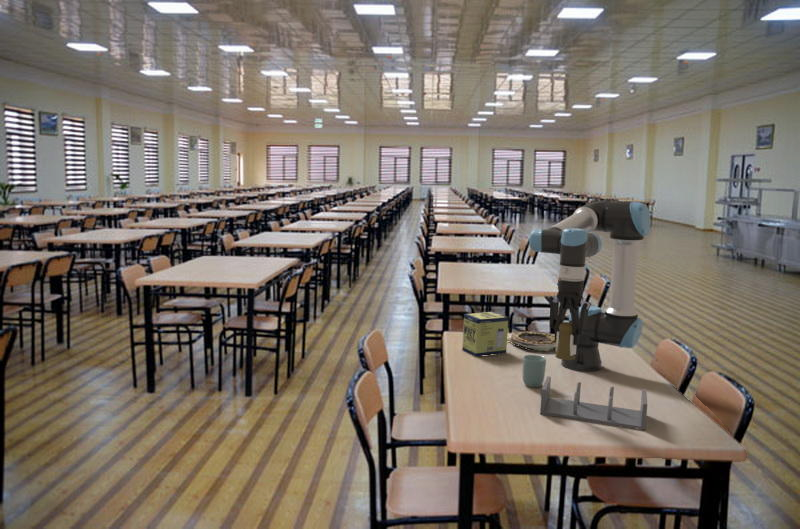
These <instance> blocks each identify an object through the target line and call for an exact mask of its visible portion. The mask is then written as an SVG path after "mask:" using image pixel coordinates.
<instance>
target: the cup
mask: <svg viewBox="0 0 800 529" xmlns="http://www.w3.org/2000/svg"><path fill="white" fill-rule="evenodd" d="M546 363H547V359H546V357H544V356H542V355H539V354H538V355H537V354H526V355H523V358H522V374H521V375H522V381H523V384H525V385H526V386H527V387H530V388H539V387H540V386H542V384H543V383H544V382H545V381H544V380H545V377H546V365H547V364H546Z"/></svg>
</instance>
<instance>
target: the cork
mask: <svg viewBox="0 0 800 529" xmlns="http://www.w3.org/2000/svg"><path fill="white" fill-rule="evenodd" d="M559 331H560V336H559V341H558V346H557V351H556V350H555V358H556V359H559V360H574V359H575V355H572V356H570V336H571V334H573V328H572V323H569V321H567V322H566V321H565V322H563V323H561V324H560V325H559Z"/></svg>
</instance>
